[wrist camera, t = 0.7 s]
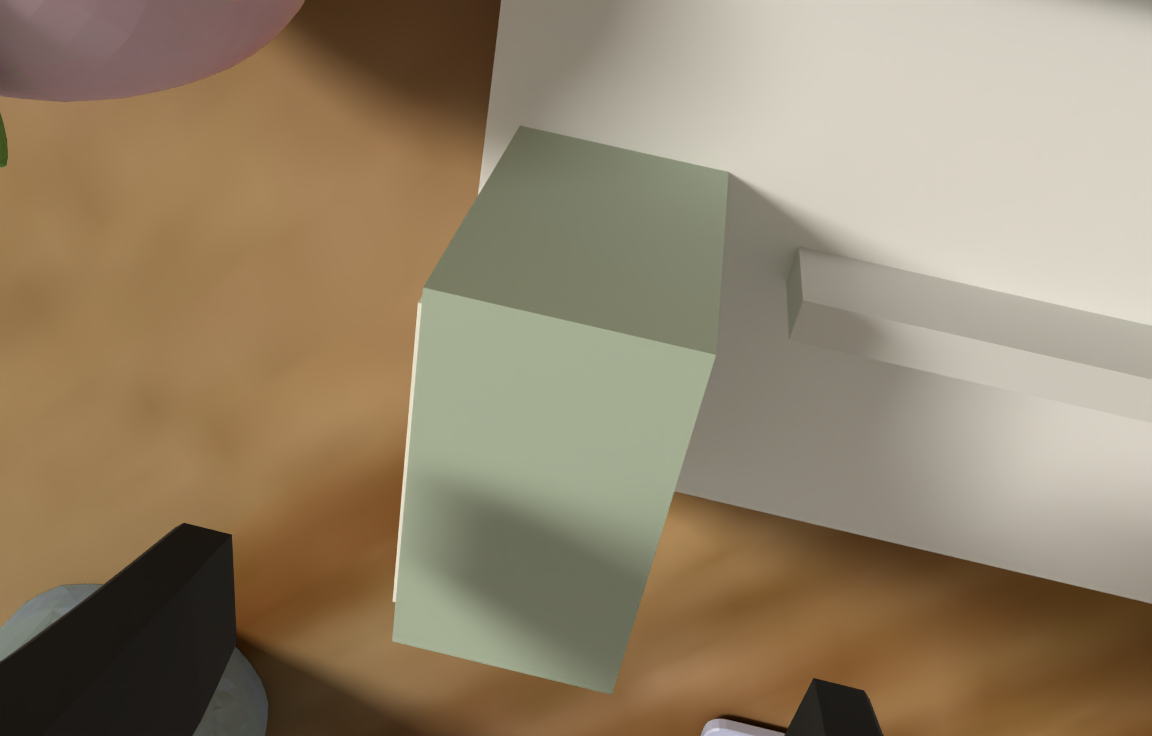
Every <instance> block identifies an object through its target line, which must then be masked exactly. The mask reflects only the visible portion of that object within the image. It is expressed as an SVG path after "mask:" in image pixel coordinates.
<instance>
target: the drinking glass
mask: <svg viewBox="0 0 1152 736" xmlns="http://www.w3.org/2000/svg"><path fill="white" fill-rule="evenodd" d="M101 586H103V585H98V584H76V585H60V586H58V587H56V588H53V589H51V590H49V591H46V592H44V593H42V594H40V595H37V596H36V597H34V598H33V599H32V600H30V601H27V602H26V603H25V604H24V605H23V606H22V607H21V608H20V609H19V610H18V611H17V612H16V613H15V614H14V615H13V616H12V617H11V618H10V619H9V620H8V621H7V622H6V623H5V624H4V625H3V626H2V627H1V628H0V661H2V660H3V659H5V658H6V657H7V656H9V655H10V654H12V653H13V652H14V651H16V650H17V649H19V648H20V647H21V646H23V645H24V644H25V643H27V642H28V641H29V640H31V639H32V638H33V637H35V636H36V635H38V634H39V633H40V632H42V631H43V630H44V629H46V628H47V627H48V626H50V625H51V624H52V623H54V622H55V621H56V620H58V619H59V618H60V617H62V616H63V615H65V614H66V613H67V612H69V611H70V610H71V609H73V608H74V607H75V606H77V605H78V604H79V603H81V602H82V601H83V600H84V599H86V598H87V597H88V596H90V595H91V594H92V593H94V592H95V591H96V590H97V589H99V588H100V587H101ZM267 719H268V700H267V696H266V692H265V689H264V687H263V684H262V682H261V679H260V678H259V676H258V674H257V673H256V671H255V670H254V668H253V667H252V665H251V664H250V662H249V661H248V660H247V659H246V658H245V657H244V655H243V654H242V653H241V652H240V651H239V650H238V649H237V648H236V647H235V648H234V650H233V653H232V655H231V657H230V659H229V662H228V664H227V666H226V668H225V671H224V673H223V675H222V677H221V679H220V682H219V684H218V686H217V688H216V690H215V693H214V695H213V697H212V699H211V701H210V703H209V705H208V707H207V709H206V712H205V714H204V716H203V718H202V720H201V722H200V724H199V725H198V727H197V729H196V730H195V732H194V734H193V736H265V734H266V727H267Z"/></svg>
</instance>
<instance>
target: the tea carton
mask: <svg viewBox="0 0 1152 736" xmlns="http://www.w3.org/2000/svg"><path fill="white" fill-rule="evenodd" d="M728 176H729V172H727V171H722V170H718V169H713V168H709V167H704V166H700V165H695V164H691V163H686V162H682V161H677V160H673V159H668V158H664V157H659V156H655V155H650V154H646V153H642V152H637V151H633V150H628V149H624V148H619V147H615V146H610V145H606V144H601V143H597V142H592V141H588V140H583V139H579V138H574V137H570V136H565V135H561V134H556V133H552V132H547V131H543V130H538V129H534V128H529V127H525V126H519V128H518V130H517V131H516V133H515V135H514V136H513V138H512V140H511V141H510V143H509V145H508V146H507V148H506V150H505V151H504V153H503V155H502V156H501V158H500V160H499V161H498V163H497V165H496V166H495V168H494V170H493V171H492V173H491V175H490V176H489V178H488V180H487V182H486V183H485V185H484V187H483V188H482V190H481V192H480V193H479V195H478V197H477V198H476V200H475V202H474V203H473V205H472V207H471V208H470V210H469V212H468V213H467V215H466V217H465V218H464V220H463V222H462V223H461V225H460V227H459V228H458V230H457V232H456V234H455V235H454V237H453V239H452V240H451V242H450V244H449V245H448V247H447V249H446V250H445V252H444V254H443V255H442V257H441V259H440V260H439V262H438V264H437V265H436V267H435V269H434V270H433V272H432V274H431V275H430V277H429V279H428V280H427V282H426V284H425V285H424V287H423V295H422V297H421V299H420V300H419V302H418V310H417V322H416V334H415V346H414V357H413V369H412V381H411V393H410V404H409V416H408V428H407V440H406V451H405V463H404V475H403V487H402V499H401V510H400V522H399V534H398V546H397V557H396V569H395V581H394V593H393V602H396V604H395V615H394V627H393V638H392V641H394V642H398V643H402V644H406V645H410V646H414V647H418V648H422V649H426V650H431V651H435V652H439V653H443V654H447V655H451V656H455V657H459V658H463V659H468V660H472V661H476V662H480V663H484V664H488V665H492V666H496V667H500V668H505V669H509V670H513V671H517V672H521V673H525V674H529V675H533V676H537V677H542V678H546V679H550V680H554V681H558V682H562V683H566V684H570V685H574V686H579V687H583V688H587V689H591V690H595V691H599V692H603V693H607V694H611V695H612V693H613V690H614V686H615V683H616V680H617V676H618V673H619V670H620V667H621V663H622V660H623V657H624V654H625V650H626V647H627V644H628V641H629V637H630V634H631V631H632V628H633V624H634V621H635V618H636V615H637V611H638V608H639V605H640V601H641V598H642V595H643V592H644V588H645V585H646V582H647V579H648V575H649V572H650V569H651V566H652V562H653V559H654V556H655V553H656V549H657V546H658V543H659V540H660V536H661V533H662V530H663V526H664V523H665V520H666V517H667V513H668V510H669V507H670V504H671V500H672V497H673V494H674V491H675V487H676V484H677V481H678V478H679V474H680V471H681V468H682V465H683V461H684V458H685V455H686V451H687V448H688V445H689V442H690V438H691V435H692V432H693V429H694V425H695V422H696V419H697V416H698V412H699V409H700V406H701V403H702V399H703V396H704V393H705V390H706V386H707V383H708V380H709V377H710V373H711V370H712V367H713V363H714V360H715V357H716V349H717V335H718V320H719V306H720V291H721V277H722V263H723V248H724V234H725V219H726V205H727V190H728Z"/></svg>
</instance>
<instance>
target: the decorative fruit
mask: <svg viewBox="0 0 1152 736" xmlns="http://www.w3.org/2000/svg"><path fill="white" fill-rule="evenodd" d="M304 1H305V0H0V96H4V97H12V98H20V99H33V100H48V101H62V102H68V101H88V100H104V99H117V98H127V97H132V96H137V95H143V94H148V93H153V92H158V91H162V90H166V89H170V88H174V87H178V86H182V85H185V84H189V83H192V82H195V81H198V80H201V79H204V78H207V77H209V76H212V75H214V74H216V73H219V72H221V71H223V70H225V69H228V68H230V67H232V66H234V65H236V64H238V63H240V62H241V61H243V60H245V59H247V58H248V57H250V56H252V55H253V54H254V53H256V52H257V51H258V50H260V49H261V48H262V47H264V46H265V45H266V44H268V43H269V42H270V41H272V40H273V39H274V38H276V37H277V36H278V35H279V34H280V32H281V31H282V30H283V29H284V28H285V27H286V25H287V24H288V23H289V22H290V21H291V19H292V18H293V17H294V16H295V15H296V13H297V12H298V11H299V10H300V9H301V7H302V5H303V3H304ZM7 159H8V150H7V138H6V133H5V129H4V124H3V120H2V117H1V114H0V167H4V166H6V164H7Z"/></svg>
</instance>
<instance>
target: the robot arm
mask: <svg viewBox="0 0 1152 736" xmlns="http://www.w3.org/2000/svg"><path fill="white" fill-rule="evenodd" d="M236 644H237V638H236V616H235V594H234V571H233V549H232V535H231V534H227V533H223V532H219V531H215V530H211V529H207V528H203V527H199V526H194V525H190V524H186V523H183V524H181V525H179V526H177V527H175V528H174V529H173V530H172V531H170V532H169V533H168V534H167V535H165V536H164V537H163V538H162V539H160V540H159V541H158V542H157V543H155V544H154V545H153V546H152V547H151V548H149V549H148V550H147V551H146V552H144V553H143V554H142V555H141V556H139V557H138V558H137V559H136V560H134V561H133V562H132V563H131V564H129V565H128V566H127V567H125V568H124V569H123V570H122V571H120V572H119V573H118V574H117V575H115V576H114V577H113V578H112V579H110V580H109V581H108V582H106V583H105V584H104V585H103V586H101V587H100V588H99V589H97V590H96V591H95V592H94V593H92V594H91V595H90V596H88V597H87V598H86V599H84V600H83V601H82V602H81V603H79V604H78V605H77V606H75V607H74V608H73V609H71V610H70V611H69V612H67V613H66V614H65V615H63V616H62V617H60V618H59V619H58V620H56V621H55V622H54V623H52V624H51V625H50V626H48V627H47V628H46V629H44V630H43V631H42V632H40V633H39V634H38V635H36V636H35V637H33V638H32V639H31V640H29V641H28V642H27V643H25V644H24V645H23V646H21V647H20V648H19V649H17V650H16V651H14V652H13V653H12V654H10V655H9V656H7V657H6V658H5V659H3V660H2V661H0V736H193V734H194V732H195V730H196V729H197V727H198V725H199V724H200V722H201V720H202V718H203V716H204V714H205V712H206V709H207V707H208V705H209V703H210V701H211V699H212V697H213V695H214V693H215V690H216V688H217V686H218V684H219V682H220V679H221V677H222V675H223V673H224V671H225V668H226V666H227V664H228V662H229V659H230V657H231V655H232V653H233V650H234V648H235V646H236ZM701 736H883V734H882V731H881V728H880V726H879V723H878V721H877V718H876V715H875V713H874V710H873V707H872V705H871V702H870V699H869V698H868V696H867V695H866V693H865V691H864V690H860V689H856V688H852V687H848V686H843V685H839V684H835V683H831V682H827V681H823V680H819V679H815V678H813V680H812V682H811V684H810V686H809V688H808V690H807V692H806V694H805V696H804V698H803V700H802V702H801V704H800V706H799V708H798V710H797V712H796V714H795V716H794V718H793V720H792V722H791V724H790V726H789V727H788V729H787V731H786V733H781V732H777V731H773V730H769V729H765V728H761V727H756V726H752V725H748V724H744V723H740V722H736V721H732V720H728V719H721V718H719V719H713V720H711V721H709V722H707V724H706V725H705V726H704V729H703V731H702V733H701Z"/></svg>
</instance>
